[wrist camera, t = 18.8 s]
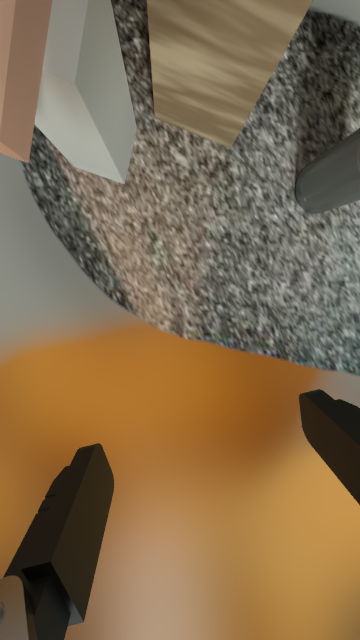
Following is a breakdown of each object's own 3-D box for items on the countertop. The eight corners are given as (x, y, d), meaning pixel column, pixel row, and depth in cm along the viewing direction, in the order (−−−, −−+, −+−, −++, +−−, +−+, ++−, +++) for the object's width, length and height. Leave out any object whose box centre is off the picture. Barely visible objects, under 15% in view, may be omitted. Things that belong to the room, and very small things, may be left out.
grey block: (124, 184, 40) (74, 83, 18) (73, 166, 39) (-47, 35, 17) (136, 128, 38) (98, -61, 16) (84, 108, 37) (-37, -126, 15)
